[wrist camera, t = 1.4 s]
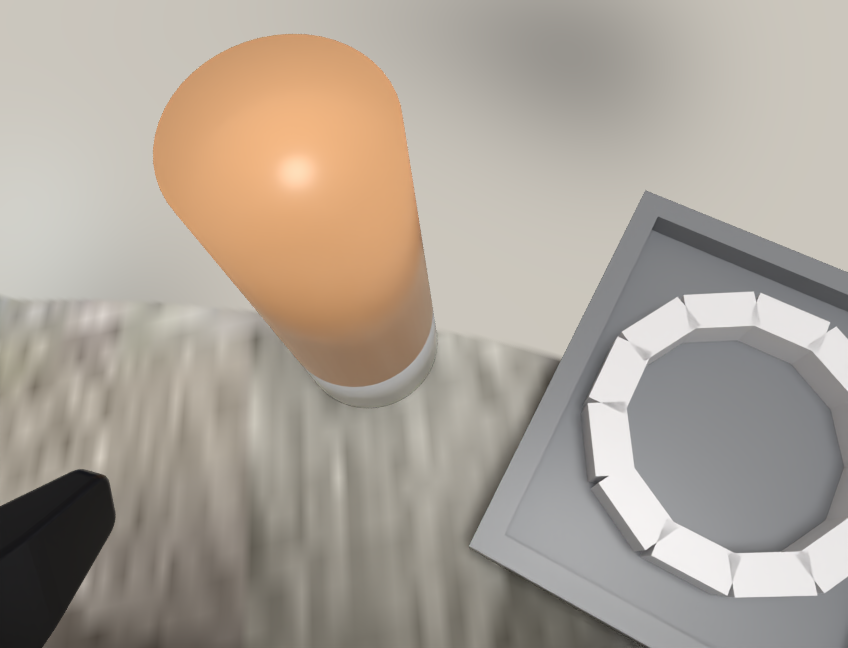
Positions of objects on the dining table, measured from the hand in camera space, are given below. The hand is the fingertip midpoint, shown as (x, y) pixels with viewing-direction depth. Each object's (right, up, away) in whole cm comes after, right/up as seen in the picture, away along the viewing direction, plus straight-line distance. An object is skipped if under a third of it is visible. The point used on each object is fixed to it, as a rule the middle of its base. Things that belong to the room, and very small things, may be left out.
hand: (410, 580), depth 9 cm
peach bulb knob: (-2, +3, +17) cm, 17 cm away
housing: (+10, -1, +14) cm, 18 cm away
